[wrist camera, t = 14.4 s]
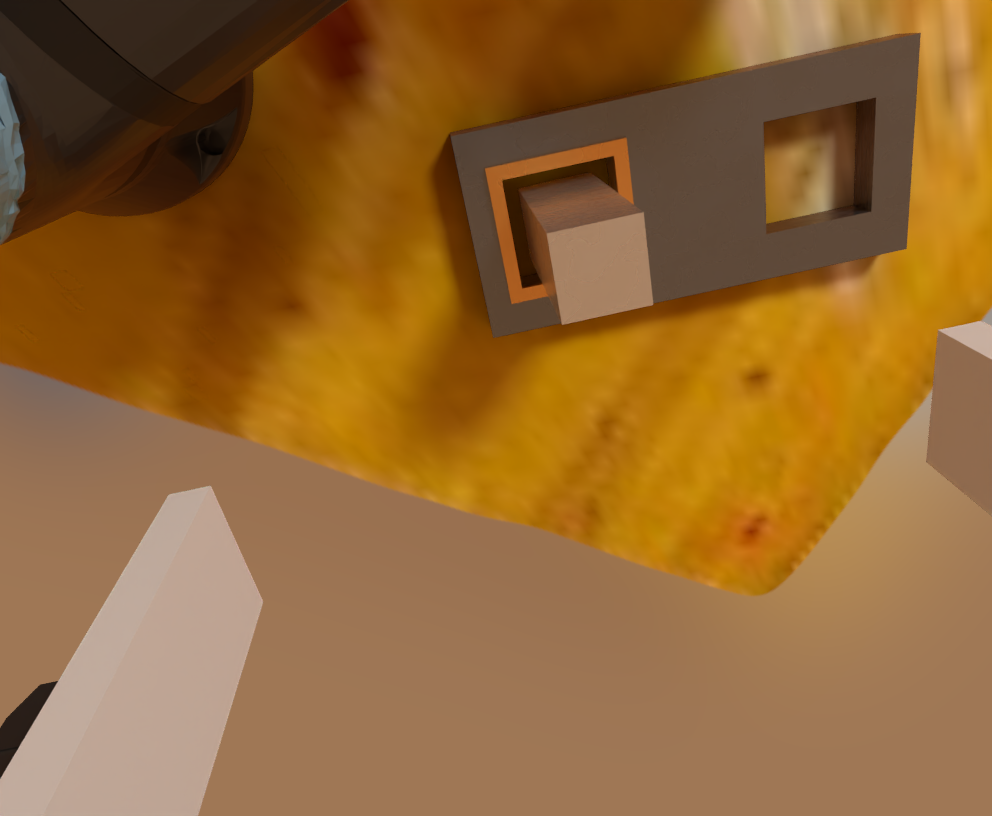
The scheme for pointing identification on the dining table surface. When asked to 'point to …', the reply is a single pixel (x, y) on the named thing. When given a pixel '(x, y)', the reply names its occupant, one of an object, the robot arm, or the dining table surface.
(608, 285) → the peg
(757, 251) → the grey peg board
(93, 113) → the robot arm
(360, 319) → the dining table surface
